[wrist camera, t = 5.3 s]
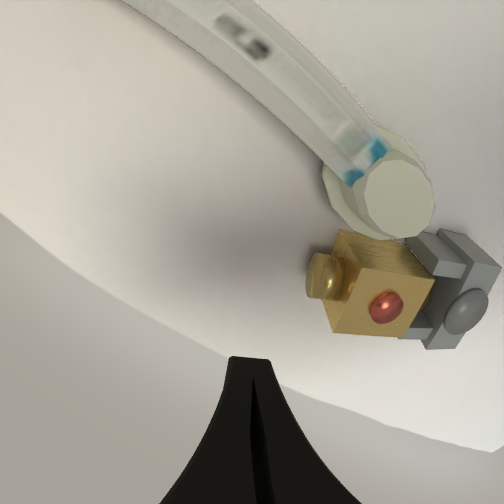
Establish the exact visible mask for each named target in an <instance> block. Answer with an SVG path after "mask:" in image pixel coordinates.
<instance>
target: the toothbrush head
mask: <svg viewBox="0 0 504 504" xmlns="http://www.w3.org/2000/svg"><path fill="white" fill-rule="evenodd" d="M121 1H123V2H124V3H126V4H128V5H129V6H131V7H132V8H134V9H136V10H137V11H139V12H140V13H142V14H144V15H145V16H147V17H148V18H150V19H151V20H153V21H154V22H156V23H157V24H159V25H160V26H162V27H163V28H165V29H166V30H168V31H169V32H170V33H172V34H173V35H175V36H176V37H178V38H179V39H180V40H182V41H183V42H185V43H186V44H187V45H189V46H190V47H191V48H193V49H194V50H196V51H197V52H198V53H200V54H201V55H202V56H204V57H205V58H206V59H208V60H209V61H210V62H211V63H213V64H214V65H215V66H217V67H218V68H219V69H220V70H222V71H223V72H224V73H225V74H227V75H228V76H229V77H230V78H232V79H233V80H234V81H235V82H237V83H238V84H239V85H240V86H241V87H243V88H244V89H245V90H246V91H247V92H249V93H250V94H251V95H252V96H253V97H254V98H256V99H257V100H258V101H259V102H260V103H261V104H262V105H264V106H265V107H266V108H267V109H268V110H269V111H270V112H272V113H273V114H274V115H275V116H276V117H277V118H278V119H279V120H280V121H282V122H283V123H284V124H285V125H286V126H287V127H288V128H289V129H290V130H291V131H292V132H293V133H294V134H296V135H297V136H298V137H299V138H300V139H301V140H302V141H303V142H304V143H305V144H306V145H307V146H308V147H309V148H310V149H311V150H312V151H313V152H314V153H315V154H316V155H317V156H318V157H319V158H320V159H321V160H322V161H323V162H324V164H323V169H322V174H321V175H322V178H323V182H324V185H325V188H326V191H327V195H328V198H329V201H330V204H331V206H332V208H333V209H334V210H335V211H336V212H337V213H338V214H339V215H340V216H341V217H342V218H343V220H344V221H345V222H346V223H347V224H348V225H349V226H350V227H351V229H352V230H354V231H356V232H359V233H361V234H364V235H366V236H369V237H371V238H374V239H376V240H379V241H380V240H386V239H400V238H407V237H413V236H417V235H418V234H419V233H420V232H421V231H423V230H424V229H425V228H426V227H427V226H428V225H429V224H430V221H431V217H432V214H433V211H434V208H435V204H434V197H433V191H432V186H431V182H430V180H429V178H428V177H427V175H426V170H425V165H424V164H423V162H422V161H421V160H420V158H419V157H418V155H417V154H416V153H415V151H414V150H413V149H412V147H411V146H410V145H409V143H408V142H407V141H406V140H405V139H403V138H401V137H399V136H397V135H395V134H393V133H392V132H389V131H387V130H385V129H383V128H381V127H379V126H376V125H375V123H374V122H373V121H372V120H371V118H370V117H369V116H368V115H367V113H366V112H365V111H364V110H363V109H362V107H361V106H360V105H359V104H358V103H357V101H356V100H355V99H354V98H353V97H352V96H351V95H350V93H349V92H348V91H347V90H346V89H345V88H344V87H343V86H342V84H341V83H340V82H339V81H338V80H337V79H336V78H335V77H334V76H333V75H332V74H331V73H330V71H329V70H328V69H327V68H326V67H325V66H324V65H323V64H322V63H321V62H320V61H319V60H318V59H317V58H316V57H315V56H314V55H313V54H312V53H311V52H310V51H309V50H308V49H307V48H306V47H305V46H304V45H303V44H302V43H301V42H300V41H298V40H297V39H296V38H295V37H294V36H293V35H292V34H291V33H290V32H289V31H288V30H287V29H285V28H284V27H283V26H282V25H281V24H280V23H279V22H278V21H276V20H275V19H274V18H273V17H272V16H271V15H269V14H268V13H267V12H266V11H265V10H263V9H262V8H261V7H260V6H259V5H257V4H256V3H255V2H254V1H252V0H121Z"/></svg>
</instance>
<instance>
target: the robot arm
mask: <svg viewBox="0 0 504 504" xmlns="http://www.w3.org/2000/svg"><path fill="white" fill-rule="evenodd" d="M160 504H362V503H360V502H359V501H358V500H357V499H356V498H355V497H354V496H353V495H352V494H351V493H350V492H349V491H348V490H347V489H346V488H345V487H344V486H343V485H342V484H341V483H340V481H339V480H338V479H337V478H336V477H335V476H334V475H333V474H332V472H331V471H330V470H329V469H328V468H327V466H326V465H325V464H324V462H323V461H322V460H321V459H320V457H319V456H318V454H317V453H316V452H315V450H314V449H313V447H312V446H311V444H310V443H309V441H308V440H307V438H306V437H305V435H304V433H303V431H302V430H301V428H300V426H299V425H298V423H297V421H296V419H295V417H294V415H293V414H292V412H291V410H290V408H289V406H288V404H287V402H286V399H285V397H284V395H283V393H282V391H281V388H280V386H279V383H278V381H277V378H276V376H275V373H274V370H273V368H272V364H271V362H270V361H269V360H268V359H258V358H247V357H237V356H232V357H230V358H229V361H228V366H227V371H226V377H225V383H224V387H223V391H222V394H221V397H220V400H219V402H218V405H217V408H216V410H215V412H214V415H213V417H212V419H211V421H210V424H209V426H208V428H207V430H206V432H205V434H204V436H203V438H202V440H201V442H200V444H199V446H198V447H197V449H196V451H195V453H194V454H193V456H192V458H191V459H190V461H189V462H188V464H187V466H186V467H185V469H184V470H183V472H182V474H181V475H180V477H179V478H178V479H177V481H176V482H175V484H174V485H173V486H172V488H171V489H170V490H169V492H168V493H167V494H166V496H165V497H164V498H163V500H162V501H161V502H160Z"/></svg>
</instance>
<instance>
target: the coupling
mask: <svg viewBox="0 0 504 504" xmlns="http://www.w3.org/2000/svg"><path fill="white" fill-rule="evenodd" d="M405 243H406V244H407V245H408V247H409V248H410V249H411V250H412V251H413V252H414V254H415V255H416V256H417V257H418V258H419V259H420V261H421V262H422V263H423V264H424V267H425V268H426V269H427V271H428V272H429V273H430V274H431V275H432V277H433V278H434V279H435V281H434V283H433V296H432V299H431V302H430V303H429V305H428V306H427V307H426V308H425V309H424V310H421V311H418V313H417V315H416V316H415V318H414V320H413V321H412V323H411V325H410V327H409V328H408V330H407V332H406V333H405V335H404V336H403V338H402V337H398V339H420V340H421V341H422V343H423V345H424V347H425V349H426V350H430V349H455V348H456V346H457V345H458V343H459V342H460V340H461V339H462V337H463V336H464V334H465V332H467V331H469V330H470V329H471V328H473V327H474V326H475V325H476V324H477V323H478V322H479V321H480V320H481V318H482V317H483V315H484V314H485V312H486V310H487V307H488V296H487V295H488V294H489V292H490V290H491V288H492V286H493V284H494V282H495V281H496V279H497V277H498V275H499V273H500V271H501V269H502V267H501V266H500V265H499V264H498V263H497V262H495V261H494V260H493V259H492V258H491V257H490V256H489V255H488V254H487V253H486V252H485V251H484V250H483V249H481V248H480V247H479V246H478V245H477V244H476V243H475V242H474V241H473V240H471V239H470V238H469V237H468V236H466V235H462V234H458V233H454V232H451V231H447V230H443V229H439V231H438V234H437V235H434V234H430V233H426V232H420V233H419V234H418V235H417V236H413V237H407V238H406V240H405Z"/></svg>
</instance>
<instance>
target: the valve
mask: <svg viewBox="0 0 504 504" xmlns="http://www.w3.org/2000/svg"><path fill="white" fill-rule="evenodd" d="M434 281H435V279H434V278H433V277H432V275H431V274H430V273H429V272H428V271H427V269H426V268H425V267H424V266H423V265H422V263H421V262H420V261H419V260H418V259H417V258H416V256H415V255H414V254H413V253H412V252H411V251H410V249H409V248H408V247H407V246H406V245H405V244H404V243H399V242H395V241H390V240H380V241H379V240H376V239H374V238H371V237H369V236H366V235H363V234H358V233H354V232H349V231H344V230H339V232H338V234H337V237H336V240H335V243H334V246H333V249H332V251H331V254H330V255H327V254H321V253H315V254H314V255H313V256H312V258H311V260H310V262H309V265H308V269H307V274H306V293H307V296H308V297H309V298H315V299H322V301H323V304H324V307H325V310H326V313H327V316H328V319H329V322H330V325H331V328H332V331H333V333H343V334H355V335H369V336H384V337H402V338H403V336H404V335H405V333H406V332H407V330H408V328H409V327H410V325H411V323H412V321H413V320H414V318H415V316H416V315H417V313H418V311H421V310H424V309H425V308H426V307H427V306H428V305H429V303H430V302H431V299H432V296H433V283H434Z"/></svg>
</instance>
